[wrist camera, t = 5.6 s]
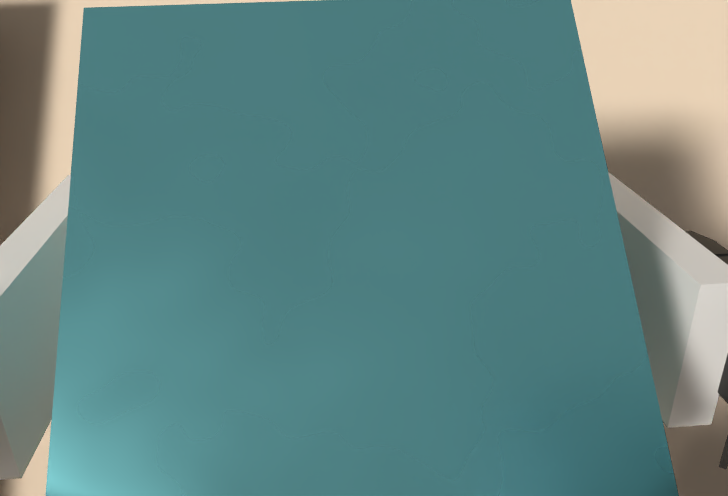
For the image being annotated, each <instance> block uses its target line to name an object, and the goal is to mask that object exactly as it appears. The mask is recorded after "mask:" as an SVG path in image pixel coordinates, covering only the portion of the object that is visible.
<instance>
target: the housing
mask: <svg viewBox="0 0 728 496" xmlns="http://www.w3.org/2000/svg"><path fill="white" fill-rule="evenodd" d="M46 496H679V494H678V490H677V485H676V481H675V476H674V472H673V467H672V462H671V458H670V453H669V449H668V444H667V439H666V435H665V430H664V426H663V421H662V417H661V412H660V407H659V403H658V398H657V394H656V389H655V384H654V380H653V375H652V371H651V366H650V362H649V357H648V352H647V348H646V343H645V339H644V334H643V329H642V325H641V320H640V316H639V311H638V307H637V302H636V297H635V293H634V288H633V284H632V279H631V274H630V270H629V265H628V261H627V256H626V252H625V247H624V242H623V238H622V233H621V229H620V224H619V219H618V215H617V210H616V206H615V201H614V197H613V192H612V187H611V183H610V178H609V174H608V169H607V164H606V160H605V155H604V151H603V146H602V142H601V137H600V132H599V128H598V123H597V119H596V114H595V109H594V105H593V100H592V96H591V91H590V87H589V82H588V77H587V73H586V68H585V64H584V59H583V54H582V50H581V45H580V41H579V36H578V32H577V27H576V22H575V18H574V13H573V9H572V4H571V0H321V1H289V2H257V3H224V4H192V5H160V6H127V7H95V8H84V13H83V26H82V39H81V51H80V64H79V77H78V90H77V102H76V115H75V128H74V141H73V154H72V166H71V179H70V192H69V205H68V217H67V230H66V243H65V256H64V268H63V281H62V294H61V307H60V319H59V332H58V345H57V358H56V371H55V383H54V396H53V409H52V422H51V434H50V447H49V460H48V473H47V485H46Z"/></svg>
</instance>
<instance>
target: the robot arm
mask: <svg viewBox="0 0 728 496" xmlns="http://www.w3.org/2000/svg"><path fill="white" fill-rule="evenodd" d="M608 174H609V178H610V183H611V187H612V192H613V197H614V201H615V206H616V210H617V215H618V219H619V224H620V229H621V233H622V238H623V242H624V247H625V252H626V256H627V261H628V265H629V270H630V274H631V279H632V284H633V288H634V293H635V297H636V302H637V307H638V311H639V316H640V320H641V325H642V329H643V334H644V339H645V343H646V348H647V352H648V357H649V362H650V366H651V371H652V375H653V380H654V384H655V389H656V394H657V398H658V403H659V407H660V412H661V417H662V421H663V422H664V423H665V425H666V426H667V427H668V428H672V427H685V426H697V425H710V424H712V420H713V416H714V412H715V409H716V405H717V401H718V397H719V394H720V396H721V397H722V398H723V399H724V400H725V401H726V402H727V403H728V250H726V249H725V248H724V247H722V246H721V245H720V244H718V243H717V242H716V241H714V240H711V239H709V238H707V237H704V236H702V235H700V234H697V233H695V232H692V231H684V230H682V229H681V228H680V227H679V226H677V225H676V224H675V223H673V222H672V221H671V220H670V219H668V218H667V217H666V216H664V215H663V214H662V213H661V212H659V211H658V210H657V209H655V208H654V207H653V206H652V205H650V204H649V203H648V202H646V201H645V200H644V199H643V198H641V197H640V196H639V195H637V194H636V193H635V192H634V191H632V190H631V189H630V188H629V187H627V186H626V185H625V184H623V183H622V182H621V181H620V180H618V179H617V178H616V177H614V176H613V175H612V174H611V173H609V172H608ZM70 179H71V175H68V176H67V177H66V178H65V179H64V180H63V181H62V182H61V183H60V184H59V185H58V186H57V187H56V188H55V189H54V190H53V191H52V192H51V193H50V195H49V196H48V197H47V198H46V199H45V200H44V201H43V202H42V203H41V204H40V205H39V206H38V207H37V208H36V209H35V210H34V211H33V212H32V213H31V214H30V215H29V216H28V217H27V218H26V219H25V220H24V222H23V223H22V224H21V225H20V226H19V227H18V228H17V229H16V230H15V231H14V232H13V233H12V234H11V235H10V236H9V237H8V238H7V239H6V240H5V241H4V242H3V243H2V244H1V245H0V480H4V479H16V478H22V476H23V474H24V472H25V470H26V468H27V466H28V464H29V462H30V460H31V458H32V456H33V454H34V452H35V450H36V449H37V447H38V445H39V443H40V441H41V439H42V437H43V435H44V433H45V431H46V429H47V427H48V425H49V423H50V421H51V419H52V409H53V396H54V383H55V371H56V358H57V345H58V332H59V319H60V307H61V294H62V281H63V268H64V256H65V243H66V230H67V217H68V205H69V192H70ZM727 466H728V436H727V440H726V443H725V447H724V450H723V454H722V457H721V461H720V464H719V467H720V468H723V469H726V468H727Z"/></svg>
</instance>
